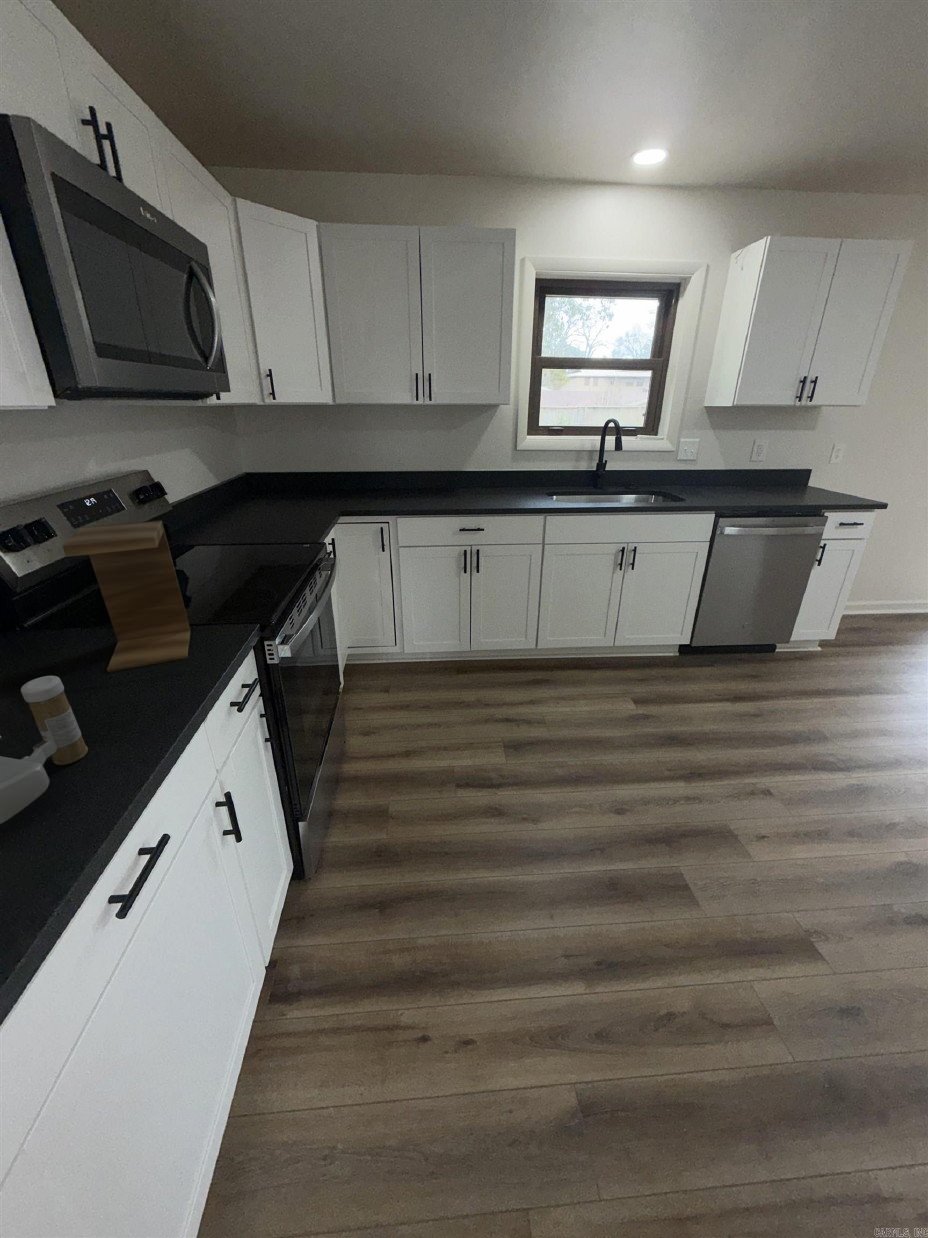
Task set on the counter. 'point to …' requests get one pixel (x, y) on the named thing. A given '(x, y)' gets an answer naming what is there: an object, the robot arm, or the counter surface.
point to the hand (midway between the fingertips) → (24, 740)
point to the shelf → (137, 591)
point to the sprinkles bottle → (55, 718)
